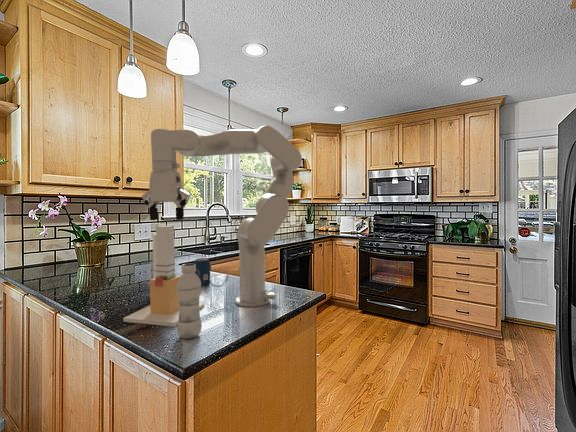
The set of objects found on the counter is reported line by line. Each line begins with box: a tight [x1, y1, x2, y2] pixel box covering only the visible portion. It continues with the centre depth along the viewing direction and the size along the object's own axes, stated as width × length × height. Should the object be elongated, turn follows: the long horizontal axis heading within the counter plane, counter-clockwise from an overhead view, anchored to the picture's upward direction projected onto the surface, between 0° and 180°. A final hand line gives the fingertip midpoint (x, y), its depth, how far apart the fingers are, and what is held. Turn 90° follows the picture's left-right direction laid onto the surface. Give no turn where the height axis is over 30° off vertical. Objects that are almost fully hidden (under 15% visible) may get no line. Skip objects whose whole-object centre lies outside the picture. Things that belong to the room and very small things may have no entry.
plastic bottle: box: [176, 263, 203, 340], centre depth 83 cm, size 6×7×20 cm
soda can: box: [193, 257, 211, 288], centre depth 136 cm, size 7×7×12 cm
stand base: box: [122, 275, 205, 328], centre depth 100 cm, size 18×18×13 cm
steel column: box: [155, 225, 177, 280], centre depth 100 cm, size 4×4×22 cm
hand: (166, 219), depth 100 cm, fingers open, 9 cm apart
